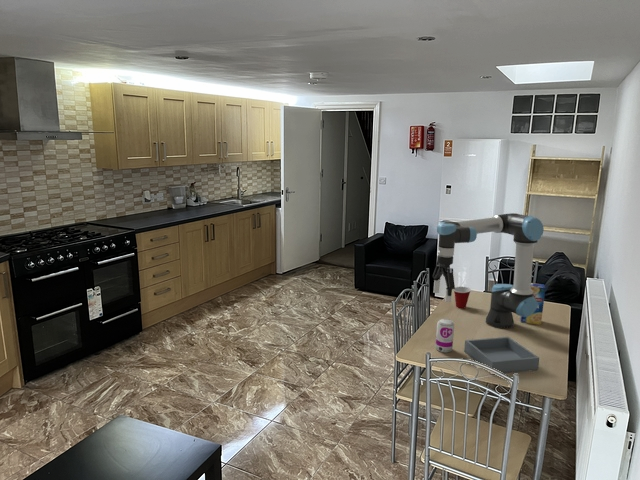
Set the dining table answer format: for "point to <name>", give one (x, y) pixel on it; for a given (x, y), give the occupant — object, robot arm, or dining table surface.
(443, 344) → the supplement can
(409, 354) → the dining table surface
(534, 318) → the beverage box
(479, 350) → the tray
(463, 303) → the plastic cup
